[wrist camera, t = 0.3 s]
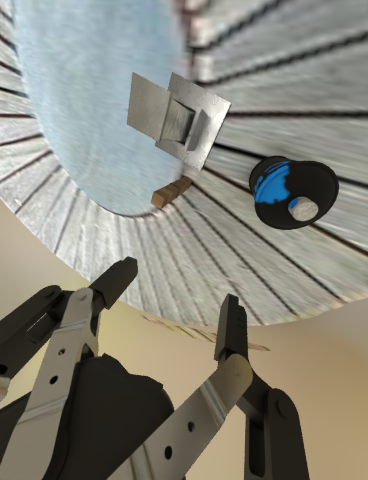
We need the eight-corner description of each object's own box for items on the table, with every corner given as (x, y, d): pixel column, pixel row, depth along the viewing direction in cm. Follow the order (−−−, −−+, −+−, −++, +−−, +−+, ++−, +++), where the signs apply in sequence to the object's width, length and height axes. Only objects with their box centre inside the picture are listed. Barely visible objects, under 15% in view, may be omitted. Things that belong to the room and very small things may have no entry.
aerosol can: (305, 164, 27) (400, 187, 11) (275, 203, 32) (311, 258, 16) (263, 149, 28) (296, 148, 12) (241, 189, 33) (242, 228, 17)
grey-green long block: (181, 107, 27) (132, 71, 15) (202, 118, 27) (170, 92, 15) (173, 134, 30) (126, 124, 18) (192, 145, 30) (158, 141, 17)
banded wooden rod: (185, 176, 35) (153, 191, 22) (192, 180, 35) (164, 198, 22) (181, 184, 36) (150, 203, 23) (189, 188, 36) (161, 209, 23)
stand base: (174, 74, 26) (156, 53, 21) (231, 104, 26) (228, 92, 20) (157, 145, 33) (140, 145, 28) (201, 170, 33) (193, 174, 27)
